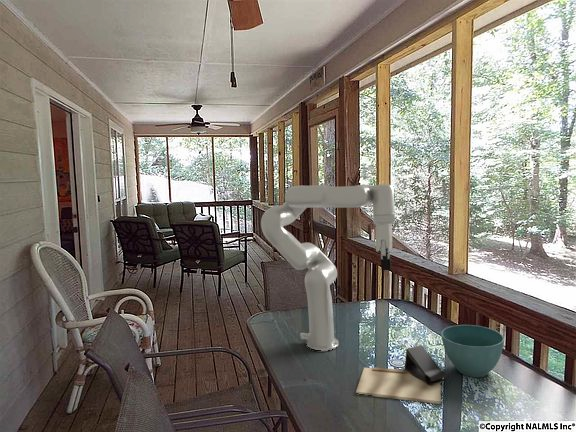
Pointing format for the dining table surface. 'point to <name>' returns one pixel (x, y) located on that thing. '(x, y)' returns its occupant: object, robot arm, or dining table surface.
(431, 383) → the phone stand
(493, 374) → the dining table surface
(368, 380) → the board
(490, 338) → the plant pot
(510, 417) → the dining table surface
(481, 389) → the dining table surface
